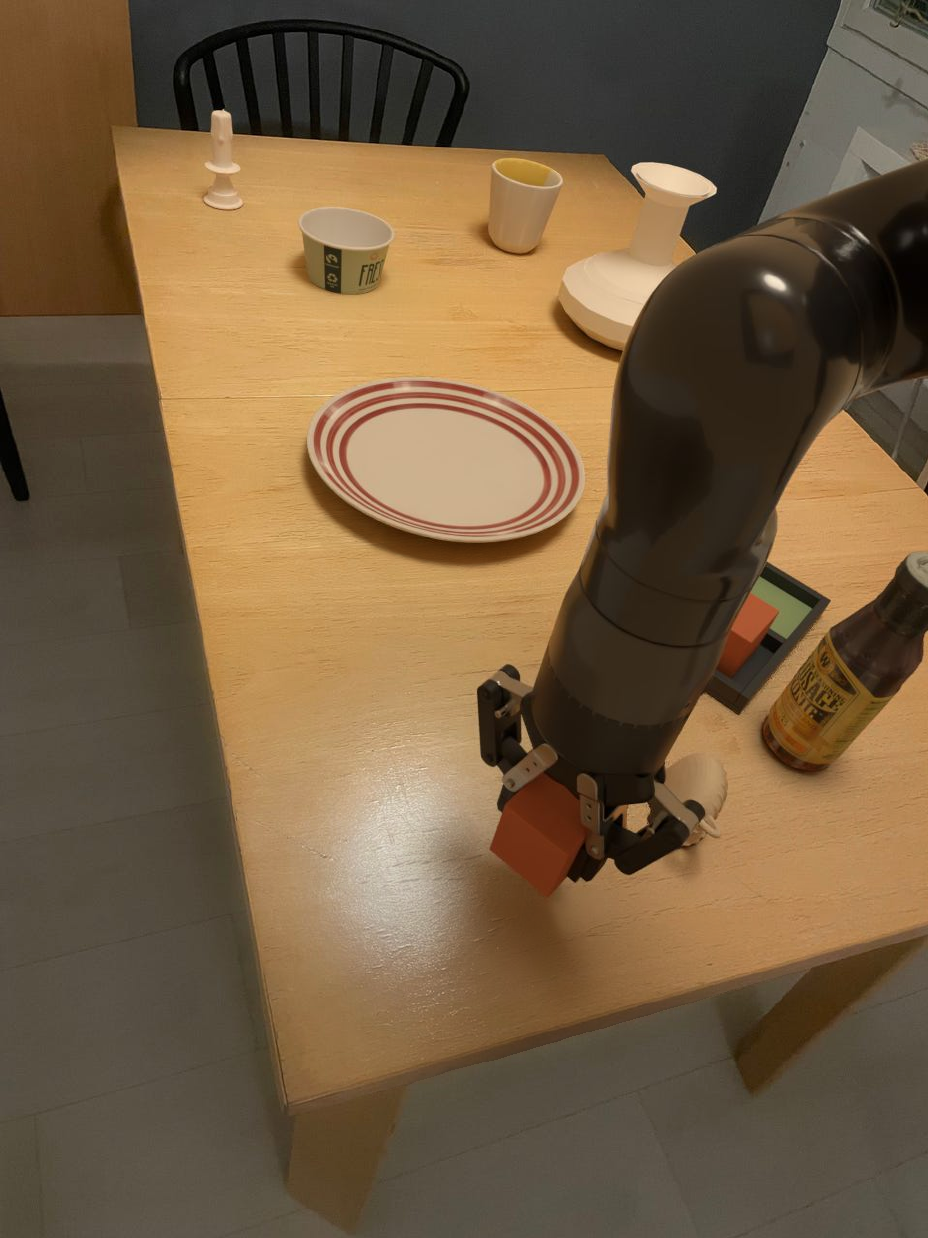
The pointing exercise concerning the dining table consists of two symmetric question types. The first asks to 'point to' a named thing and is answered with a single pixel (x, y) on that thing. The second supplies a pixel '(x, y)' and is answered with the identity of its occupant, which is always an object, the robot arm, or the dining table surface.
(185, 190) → the dining table surface
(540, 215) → the mug
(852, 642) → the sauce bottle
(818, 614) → the pad holder
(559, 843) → the orange block
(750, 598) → the orange rectangular block
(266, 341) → the dining table surface
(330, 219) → the food container
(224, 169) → the candle
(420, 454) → the dinner plate
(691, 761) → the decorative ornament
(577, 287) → the white vase
